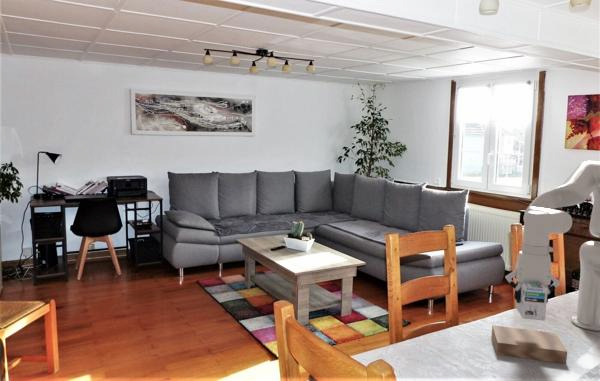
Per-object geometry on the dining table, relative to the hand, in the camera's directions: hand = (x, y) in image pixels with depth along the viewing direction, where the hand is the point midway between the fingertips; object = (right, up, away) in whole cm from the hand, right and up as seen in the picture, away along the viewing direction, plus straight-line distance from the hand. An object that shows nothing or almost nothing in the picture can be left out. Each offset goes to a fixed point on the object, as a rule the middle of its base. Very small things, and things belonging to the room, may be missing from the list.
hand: (530, 302), depth 151 cm
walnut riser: (0, -16, +2) cm, 16 cm away
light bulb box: (0, -4, +1) cm, 4 cm away
